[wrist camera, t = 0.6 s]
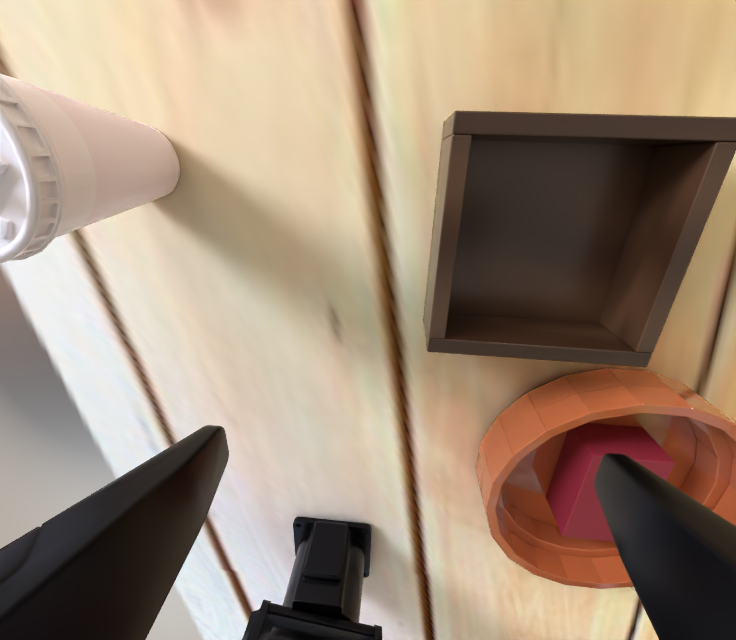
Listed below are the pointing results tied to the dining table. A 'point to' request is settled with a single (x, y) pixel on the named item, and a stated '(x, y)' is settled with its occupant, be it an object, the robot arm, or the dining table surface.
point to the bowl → (543, 447)
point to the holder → (567, 231)
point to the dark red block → (578, 469)
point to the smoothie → (71, 166)
